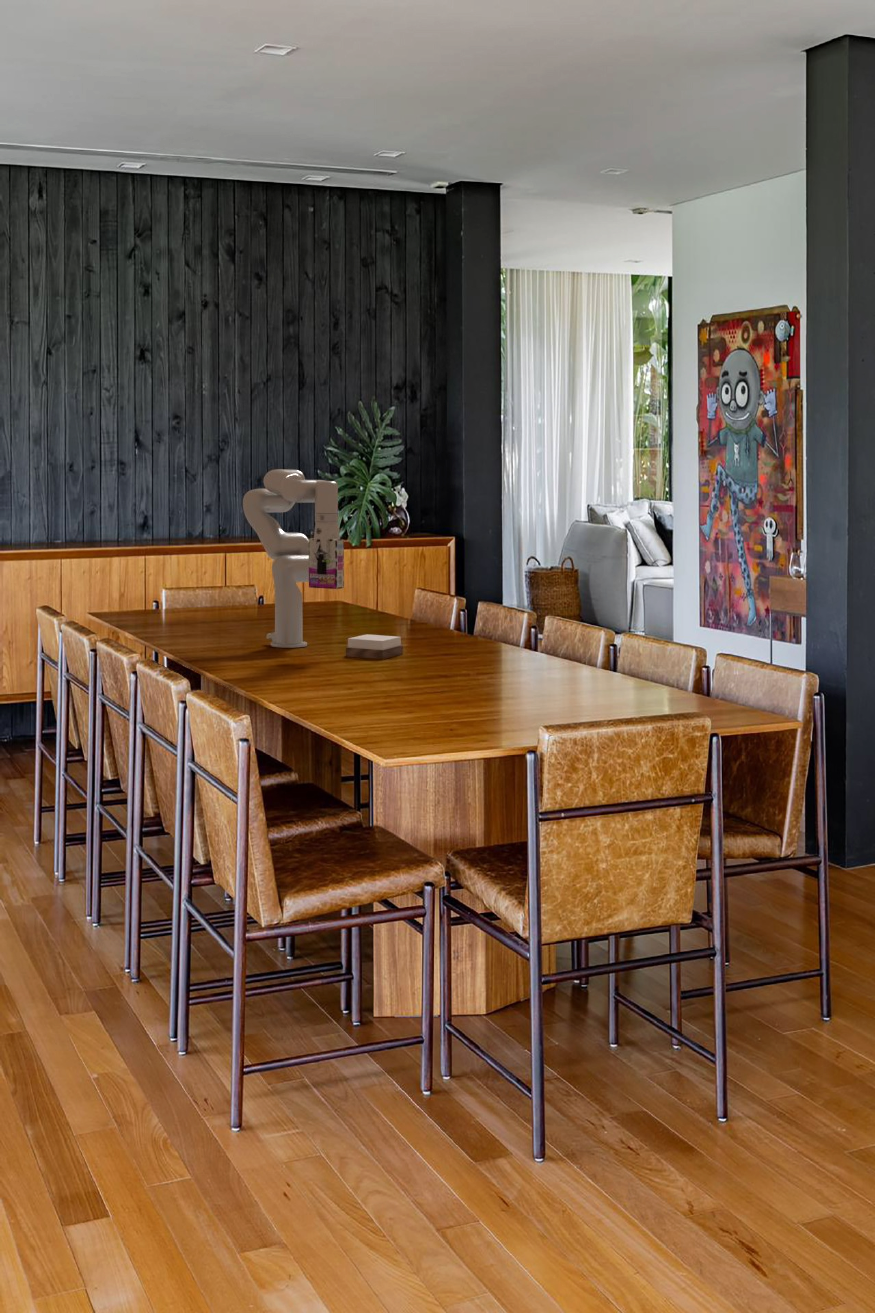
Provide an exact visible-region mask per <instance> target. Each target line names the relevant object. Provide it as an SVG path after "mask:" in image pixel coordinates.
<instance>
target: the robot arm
mask: <svg viewBox="0 0 875 1313" xmlns="http://www.w3.org/2000/svg"><path fill="white" fill-rule="evenodd" d="M263 486H264V488H255V489H250V490H249V491H247V492H246V493H245V494H244V496H243V498H242V508H243V514H244V516H245V518H246V520H247V522H248V524H249V525H250V527H251V528H252V529H253V530H254V532H255V533H256V534H257V537H258V538H259V540H260V543H261V544H262V547H263V549H264V550H265V552H266V554H267V556H268V557H269V558H270V559H272V560H273V561H272V563H271V572H272V573H271V574H272V579H273V584H274V620H275V621H274V632H271V633H267V634H266V637H265V638H266V639H267V640H272V641H271V642H270V646H271V647H273V648H281V649H283V648H284V649H286V648H287V649H292V648H293V649H297V648H304V647H305V648H306V647H307V646H308V642H307V641H303V634H304V633H303V628H304V627H303V594H302V591H301V589H300V587H299V586H298V585H297V583H309V539H310V538H308V537H307V536H306V535H305V534H304V533H301V532H286V531H284V530H283V529H282V527H281V526H280V523H279V521H278V520H276V519H275V518H274V517H273V516H271V515H270V514H269V513H286V512H288V511H290V510H291V509H292V508H293V506H294V505H295V504H296V503H297V504H298V503H299V504H303V503H304V504H305V503H312V504H313V503H314V523H315V524H314V534H313V538H314V552H313V553H314V555H315V557H316V562H317V574H326V562H325V559H326V553H330V539H341V537H340V536H341V534H340V526H339V523H338V521H339V520H338V512H339V509H338V508H339V502H338V501H339V500H338V498H339V497H338V496H339V495H338V494H339V487H338V486H339V484H338V483H337V482H336V481H333V480H324V479H306V478H305V475H304V473H303V472H302V471H300V470H299V469H286V468H285V469H281V468H279V469H278V468H277V469H272V470H269V471H268V472H266V474H265V475H264V477H263ZM320 551H324V553H323V552H320ZM322 555H323V557H322Z"/></svg>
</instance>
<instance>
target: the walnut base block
mask: <svg viewBox="0 0 875 1313" xmlns="http://www.w3.org/2000/svg"><path fill="white" fill-rule="evenodd" d="M403 646H404V645H401V646H398V647H393V648H389V649H385V650H375V649H361V648H348V646H347V647H345V657H351V658H353V657H354V658H365V659H377V660H378V659H379V660H385V659H389V658H393V657H394V658H395V657H397V656H400V655H403V654H404V653H403V652H404V647H403Z"/></svg>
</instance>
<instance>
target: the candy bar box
mask: <svg viewBox="0 0 875 1313" xmlns="http://www.w3.org/2000/svg"><path fill="white" fill-rule="evenodd" d="M308 539H309V582H308V588H309V589H311V588H312V589H327V590H329V589H331V590H339V589H340V590H341V589H344V587H345V581H344V580H345V578H344V577H345V576H344V569H345V568H344V566H345V562H344V558H345V551H344V550H345V547H344V546H345V542H344V541H345V540H344V538H340V539H330V553H326V559H325V562H326V574H317V562H316V557H315V555H314V553H313V552H314V537H313V538H308ZM320 552H323V553H324V551H320ZM322 557H323V555H322Z"/></svg>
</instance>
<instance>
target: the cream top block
mask: <svg viewBox="0 0 875 1313" xmlns="http://www.w3.org/2000/svg"><path fill="white" fill-rule="evenodd" d="M398 646H402V637H401V636H394V635H380V634H368V633H367V634H362V635H358V636H354V637H349V638H347V647H348V648H361V649H375V650H385V649H389V648H393V647H398Z"/></svg>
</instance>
